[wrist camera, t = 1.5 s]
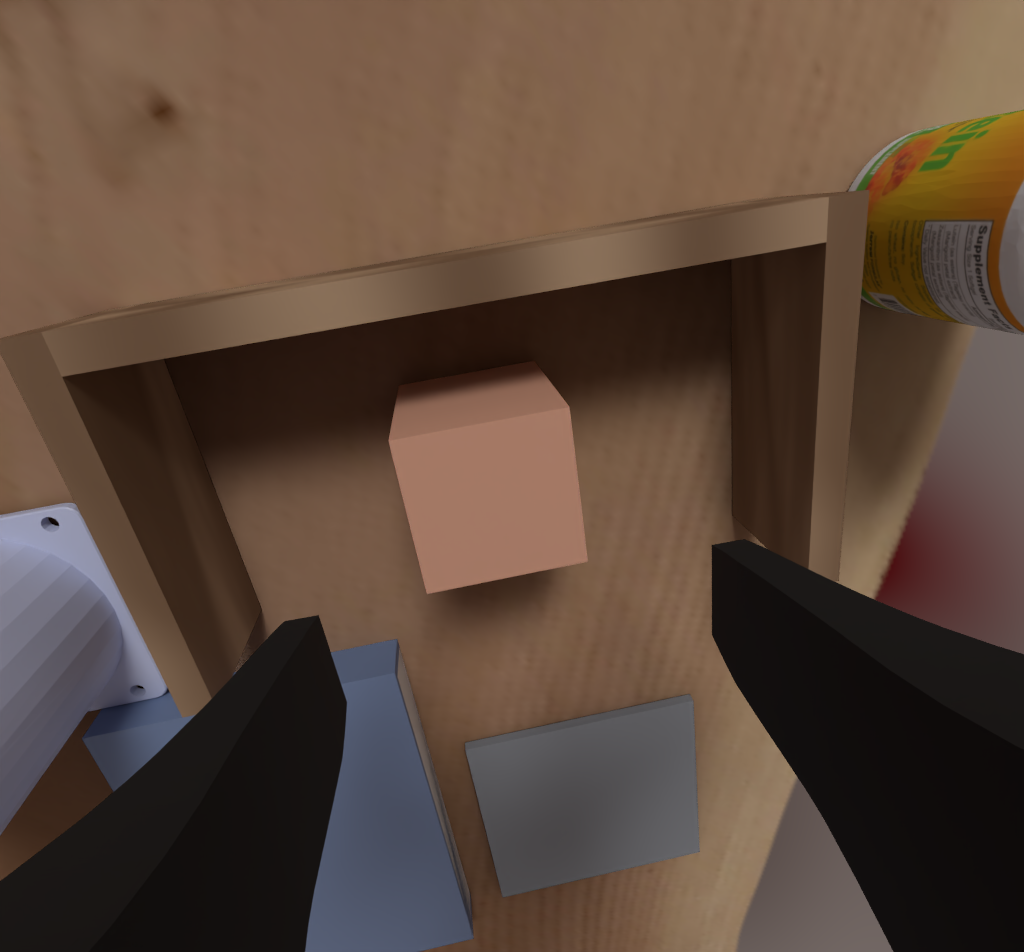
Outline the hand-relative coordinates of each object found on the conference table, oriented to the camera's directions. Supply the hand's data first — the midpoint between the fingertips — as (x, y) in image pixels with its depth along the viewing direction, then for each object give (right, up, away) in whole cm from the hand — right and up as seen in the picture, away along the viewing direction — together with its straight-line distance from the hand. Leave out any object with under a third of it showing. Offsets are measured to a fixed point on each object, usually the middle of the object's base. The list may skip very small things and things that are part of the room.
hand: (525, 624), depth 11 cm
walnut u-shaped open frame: (-1, +4, +9) cm, 11 cm away
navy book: (-9, -12, +16) cm, 22 cm away
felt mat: (+3, -12, +17) cm, 21 cm away
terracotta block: (-1, +4, +10) cm, 11 cm away
